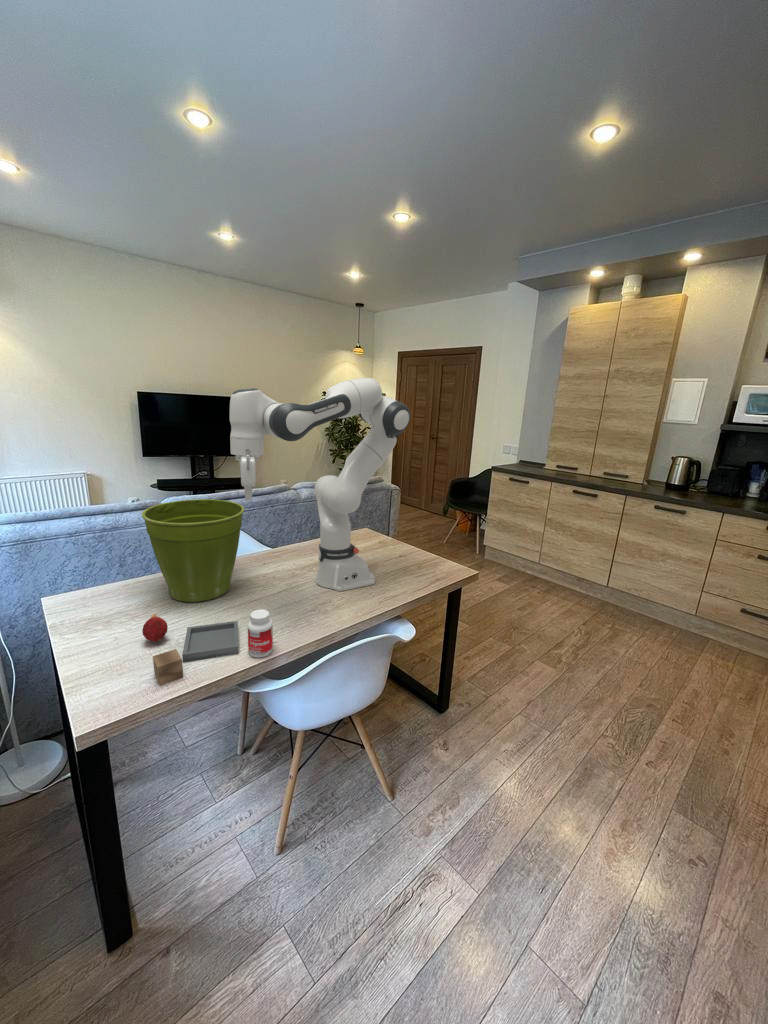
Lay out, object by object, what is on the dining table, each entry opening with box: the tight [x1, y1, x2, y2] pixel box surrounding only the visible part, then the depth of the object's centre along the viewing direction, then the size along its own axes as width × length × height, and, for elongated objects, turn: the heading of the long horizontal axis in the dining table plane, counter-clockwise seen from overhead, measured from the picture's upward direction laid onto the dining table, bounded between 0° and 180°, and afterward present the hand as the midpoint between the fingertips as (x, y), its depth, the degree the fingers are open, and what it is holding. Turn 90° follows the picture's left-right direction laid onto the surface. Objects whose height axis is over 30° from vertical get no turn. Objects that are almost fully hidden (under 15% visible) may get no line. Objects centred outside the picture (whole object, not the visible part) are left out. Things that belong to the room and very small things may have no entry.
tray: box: [181, 620, 239, 663], centre depth 106 cm, size 13×13×2 cm
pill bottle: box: [247, 609, 274, 659], centre depth 102 cm, size 6×6×11 cm
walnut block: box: [152, 648, 184, 687], centre depth 92 cm, size 5×5×5 cm
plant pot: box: [141, 498, 245, 603], centre depth 131 cm, size 30×30×29 cm
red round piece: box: [141, 613, 169, 643], centre depth 105 cm, size 6×6×8 cm
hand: (248, 496), depth 114 cm, fingers open, 8 cm apart
